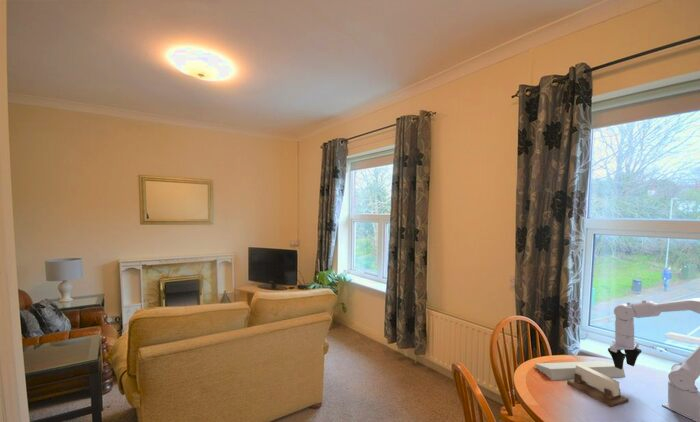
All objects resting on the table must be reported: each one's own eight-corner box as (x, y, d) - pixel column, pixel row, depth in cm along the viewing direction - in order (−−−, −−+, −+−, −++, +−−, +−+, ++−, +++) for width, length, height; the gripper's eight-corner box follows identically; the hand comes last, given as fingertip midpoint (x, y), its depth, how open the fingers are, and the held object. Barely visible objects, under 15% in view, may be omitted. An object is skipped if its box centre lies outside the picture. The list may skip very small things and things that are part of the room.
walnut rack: (628, 401, 112) (628, 389, 112) (611, 407, 109) (611, 395, 109) (583, 378, 128) (583, 368, 128) (567, 383, 124) (567, 372, 124)
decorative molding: (536, 374, 136) (552, 381, 126) (535, 363, 137) (550, 368, 128) (604, 372, 138) (625, 378, 129) (602, 360, 140) (622, 366, 130)
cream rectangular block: (619, 394, 112) (619, 381, 112) (614, 396, 111) (614, 383, 111) (580, 375, 125) (580, 363, 125) (575, 376, 124) (575, 365, 124)
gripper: (624, 327, 126) (624, 359, 126) (601, 332, 122) (601, 364, 122) (645, 334, 120) (645, 367, 119) (622, 339, 115) (621, 373, 115)
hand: (624, 366), depth 120 cm, fingers open, 7 cm apart
